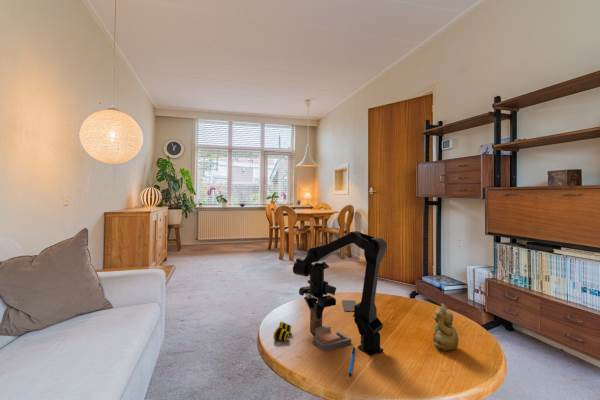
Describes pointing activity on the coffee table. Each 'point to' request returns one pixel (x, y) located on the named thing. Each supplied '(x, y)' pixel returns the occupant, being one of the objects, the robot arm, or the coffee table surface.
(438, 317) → the decorative figurine
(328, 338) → the tile
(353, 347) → the pen
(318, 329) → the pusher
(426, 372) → the coffee table surface
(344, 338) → the tile bay
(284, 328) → the opera glasses
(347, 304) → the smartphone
